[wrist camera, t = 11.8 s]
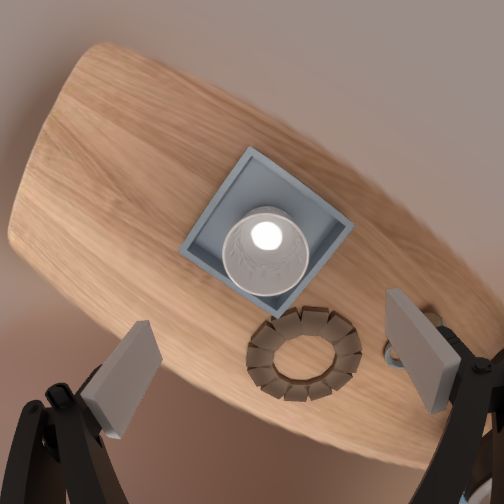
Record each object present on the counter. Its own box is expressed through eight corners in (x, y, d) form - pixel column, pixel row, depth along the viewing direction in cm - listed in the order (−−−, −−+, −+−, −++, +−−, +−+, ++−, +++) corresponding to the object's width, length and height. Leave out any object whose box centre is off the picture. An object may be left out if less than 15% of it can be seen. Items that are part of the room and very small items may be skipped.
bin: (346, 218, 36) (355, 225, 32) (277, 304, 40) (278, 319, 36) (252, 147, 34) (249, 145, 30) (186, 242, 38) (177, 251, 34)
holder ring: (380, 343, 41) (383, 347, 39) (309, 409, 45) (309, 414, 44) (296, 284, 39) (297, 288, 37) (225, 365, 43) (224, 370, 42)
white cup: (302, 202, 35) (313, 216, 25) (296, 265, 37) (303, 299, 28) (236, 198, 35) (223, 210, 26) (233, 260, 38) (221, 292, 28)
